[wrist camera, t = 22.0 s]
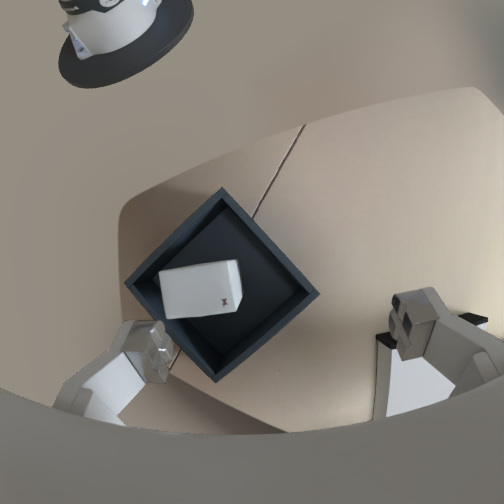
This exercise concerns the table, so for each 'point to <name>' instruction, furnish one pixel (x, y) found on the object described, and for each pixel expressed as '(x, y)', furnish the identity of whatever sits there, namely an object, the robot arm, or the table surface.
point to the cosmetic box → (202, 289)
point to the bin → (254, 281)
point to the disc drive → (409, 378)
